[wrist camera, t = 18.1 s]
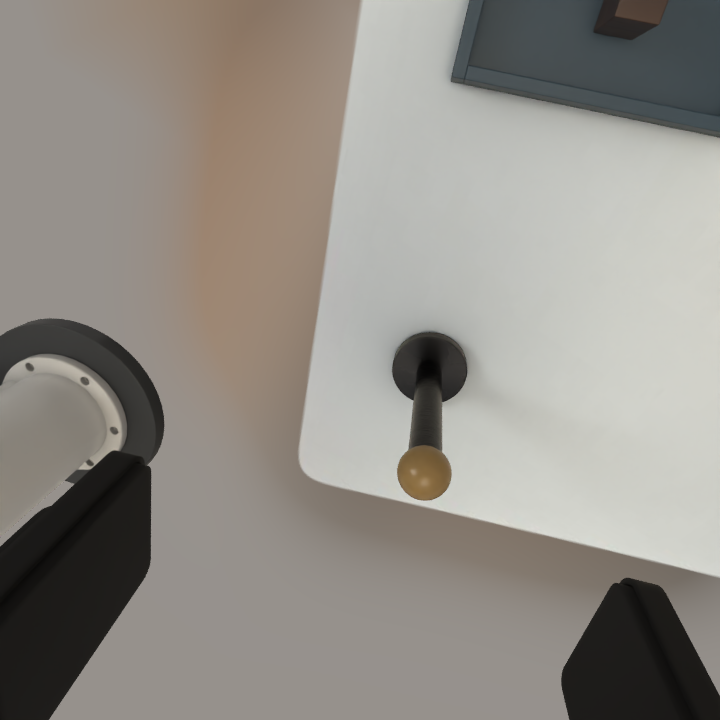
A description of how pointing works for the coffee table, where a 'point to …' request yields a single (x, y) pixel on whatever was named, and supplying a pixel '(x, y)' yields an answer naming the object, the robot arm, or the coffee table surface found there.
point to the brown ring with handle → (629, 17)
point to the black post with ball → (427, 408)
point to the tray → (598, 60)
